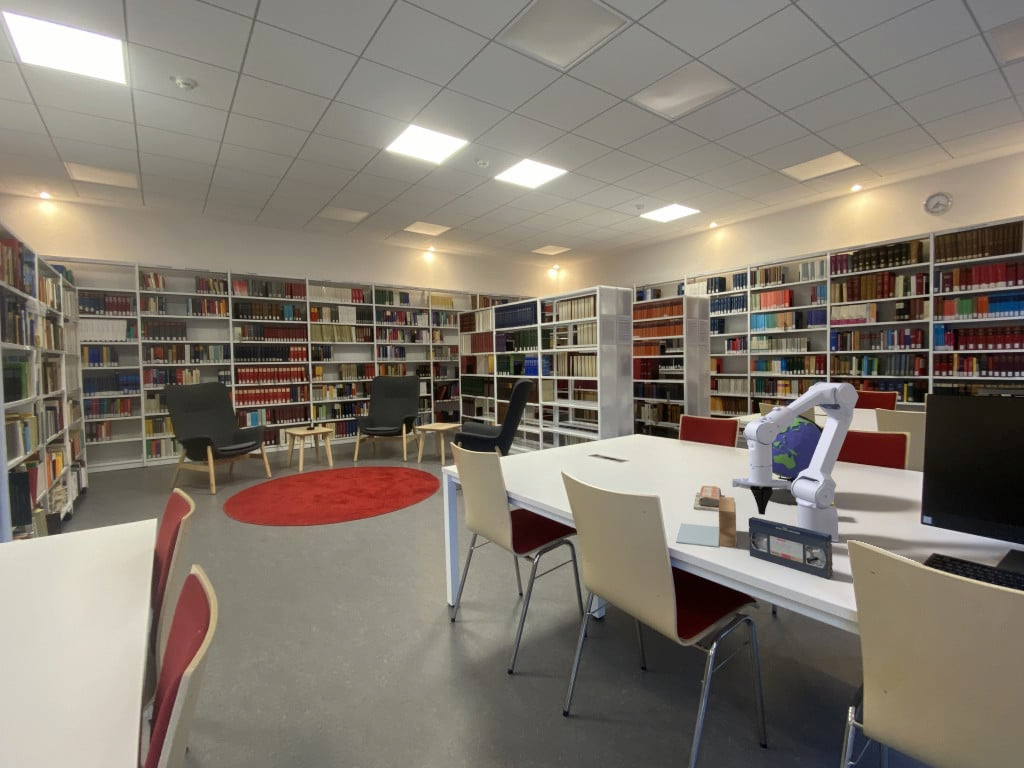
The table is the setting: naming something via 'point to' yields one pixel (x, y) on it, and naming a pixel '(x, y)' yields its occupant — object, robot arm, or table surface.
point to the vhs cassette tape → (791, 547)
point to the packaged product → (708, 499)
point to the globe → (793, 454)
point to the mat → (698, 535)
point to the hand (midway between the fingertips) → (761, 513)
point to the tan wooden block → (727, 522)
